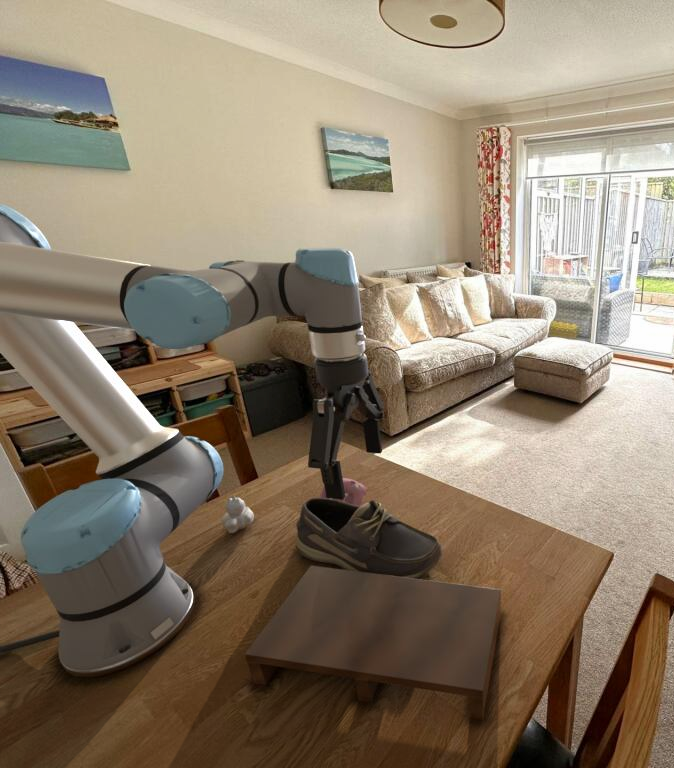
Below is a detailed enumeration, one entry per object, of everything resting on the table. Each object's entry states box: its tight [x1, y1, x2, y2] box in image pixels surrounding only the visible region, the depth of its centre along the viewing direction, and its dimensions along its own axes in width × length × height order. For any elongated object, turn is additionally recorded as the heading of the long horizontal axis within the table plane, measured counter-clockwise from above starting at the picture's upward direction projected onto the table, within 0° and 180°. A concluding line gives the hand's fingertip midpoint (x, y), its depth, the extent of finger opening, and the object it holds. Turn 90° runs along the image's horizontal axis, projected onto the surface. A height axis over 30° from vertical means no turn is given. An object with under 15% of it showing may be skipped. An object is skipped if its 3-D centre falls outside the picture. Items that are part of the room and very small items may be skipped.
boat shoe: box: [295, 497, 443, 579], centre depth 74 cm, size 11×29×11 cm, turn 78°
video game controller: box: [318, 477, 367, 506], centre depth 89 cm, size 10×5×7 cm, turn 77°
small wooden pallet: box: [244, 565, 502, 721], centre depth 59 cm, size 32×15×6 cm, turn 83°
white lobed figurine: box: [221, 493, 255, 534], centre depth 81 cm, size 5×7×8 cm
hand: (357, 472), depth 69 cm, fingers open, 13 cm apart
